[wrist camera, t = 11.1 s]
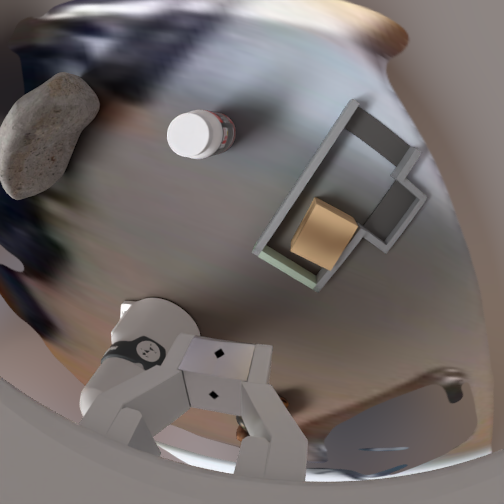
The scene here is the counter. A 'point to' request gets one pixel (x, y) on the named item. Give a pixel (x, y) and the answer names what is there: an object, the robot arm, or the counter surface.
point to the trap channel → (383, 217)
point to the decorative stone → (44, 134)
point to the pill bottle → (200, 134)
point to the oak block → (323, 234)
